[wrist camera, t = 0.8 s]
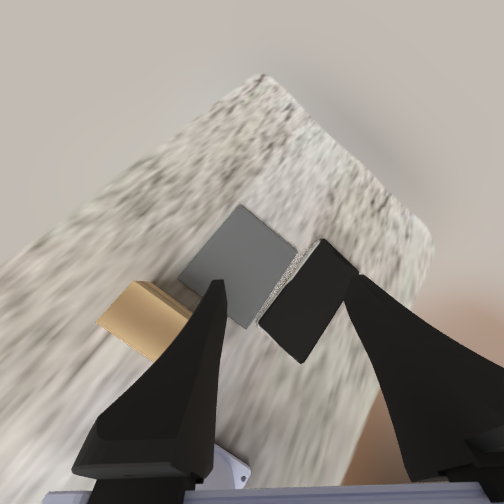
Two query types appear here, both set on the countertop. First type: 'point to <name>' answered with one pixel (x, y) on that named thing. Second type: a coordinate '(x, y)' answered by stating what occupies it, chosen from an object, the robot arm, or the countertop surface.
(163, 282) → the countertop surface
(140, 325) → the oak slab
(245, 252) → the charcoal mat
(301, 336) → the smartphone
